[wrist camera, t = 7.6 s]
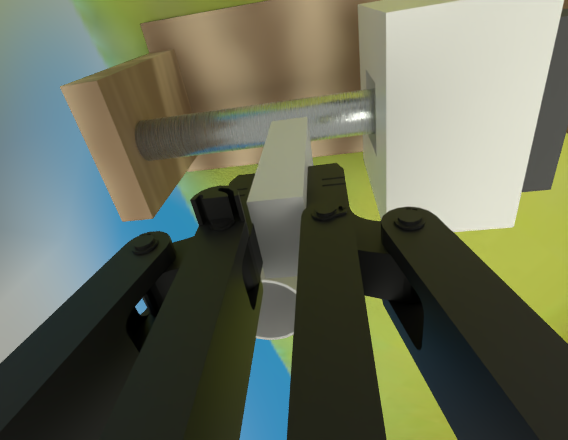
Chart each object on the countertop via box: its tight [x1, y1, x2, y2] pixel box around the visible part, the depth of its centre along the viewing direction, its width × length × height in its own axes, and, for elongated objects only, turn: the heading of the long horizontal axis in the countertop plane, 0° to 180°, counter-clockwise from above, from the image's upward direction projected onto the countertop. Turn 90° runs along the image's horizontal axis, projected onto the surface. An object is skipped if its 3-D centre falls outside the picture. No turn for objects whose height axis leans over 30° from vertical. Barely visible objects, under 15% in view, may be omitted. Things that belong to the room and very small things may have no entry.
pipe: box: [135, 88, 376, 161], centre depth 20 cm, size 28×3×3 cm, turn 99°
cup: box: [256, 266, 297, 340], centre depth 34 cm, size 7×10×9 cm
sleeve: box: [358, 0, 564, 232], centre depth 19 cm, size 6×10×10 cm, turn 9°
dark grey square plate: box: [522, 9, 568, 192], centre depth 19 cm, size 2×8×8 cm, turn 9°
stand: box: [60, 0, 568, 221], centre depth 23 cm, size 30×12×12 cm, turn 99°
